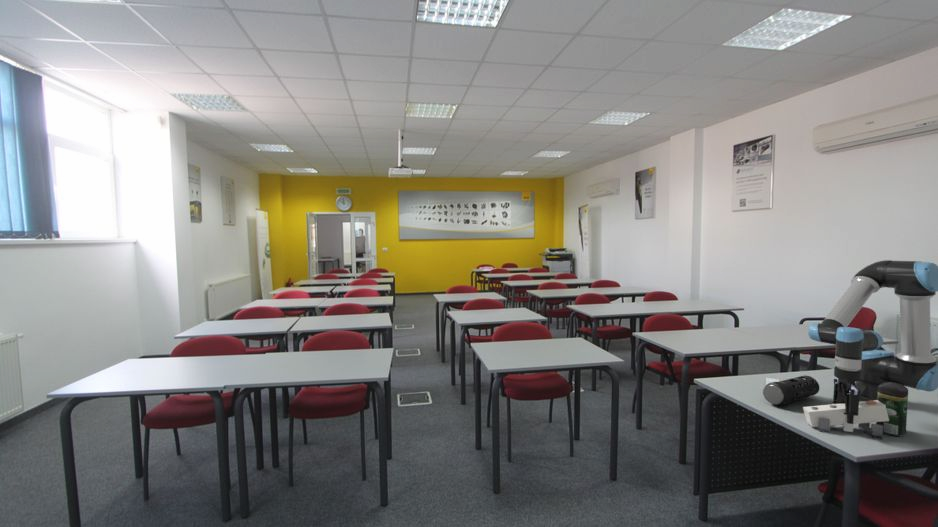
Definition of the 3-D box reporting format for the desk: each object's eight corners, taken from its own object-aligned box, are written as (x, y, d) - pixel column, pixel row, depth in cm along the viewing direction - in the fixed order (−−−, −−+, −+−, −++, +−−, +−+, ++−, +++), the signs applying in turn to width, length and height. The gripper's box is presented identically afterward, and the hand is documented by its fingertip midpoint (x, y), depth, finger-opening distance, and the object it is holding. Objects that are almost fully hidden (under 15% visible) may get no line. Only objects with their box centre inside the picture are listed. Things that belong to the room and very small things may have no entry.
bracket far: (817, 422, 168) (818, 410, 167) (829, 432, 159) (829, 419, 159) (808, 421, 169) (809, 409, 168) (819, 431, 160) (820, 418, 160)
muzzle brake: (819, 400, 191) (820, 378, 190) (783, 411, 179) (785, 387, 178) (796, 393, 200) (797, 372, 199) (760, 403, 188) (761, 380, 187)
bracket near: (867, 428, 163) (868, 415, 162) (882, 439, 154) (883, 425, 154) (858, 427, 164) (859, 414, 163) (872, 437, 155) (872, 424, 155)
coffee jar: (879, 424, 166) (882, 378, 165) (908, 432, 159) (911, 384, 158) (872, 430, 161) (875, 383, 160) (901, 439, 154) (904, 389, 153)
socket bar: (880, 415, 159) (876, 398, 159) (889, 420, 155) (884, 403, 155) (806, 421, 167) (802, 405, 167) (812, 427, 162) (808, 410, 162)
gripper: (823, 360, 170) (820, 417, 171) (848, 374, 152) (844, 436, 154) (846, 362, 167) (843, 419, 169) (874, 376, 150) (870, 440, 151)
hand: (843, 427), depth 161 cm, fingers closed on socket bar, 5 cm apart
